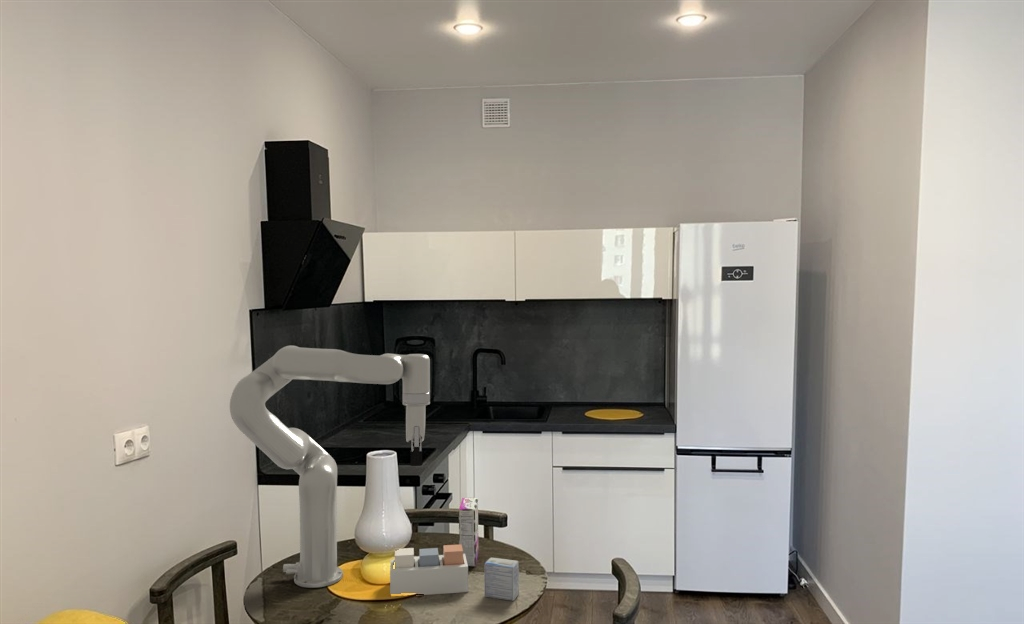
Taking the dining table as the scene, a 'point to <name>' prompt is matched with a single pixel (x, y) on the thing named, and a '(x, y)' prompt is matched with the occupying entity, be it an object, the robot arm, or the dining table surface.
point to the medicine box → (501, 578)
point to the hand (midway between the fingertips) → (416, 464)
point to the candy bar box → (469, 529)
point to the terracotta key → (452, 554)
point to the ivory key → (404, 558)
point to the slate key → (428, 557)
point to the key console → (429, 578)
